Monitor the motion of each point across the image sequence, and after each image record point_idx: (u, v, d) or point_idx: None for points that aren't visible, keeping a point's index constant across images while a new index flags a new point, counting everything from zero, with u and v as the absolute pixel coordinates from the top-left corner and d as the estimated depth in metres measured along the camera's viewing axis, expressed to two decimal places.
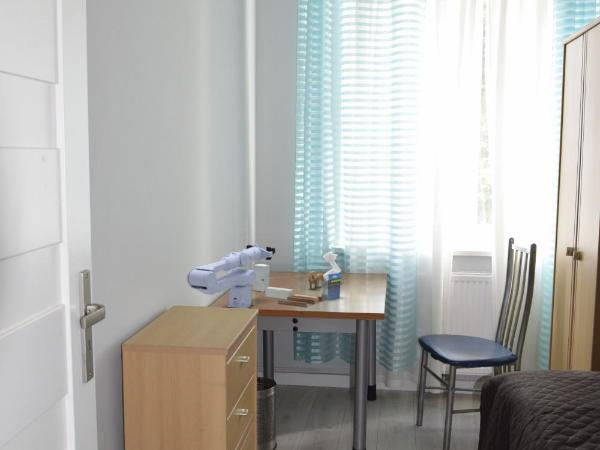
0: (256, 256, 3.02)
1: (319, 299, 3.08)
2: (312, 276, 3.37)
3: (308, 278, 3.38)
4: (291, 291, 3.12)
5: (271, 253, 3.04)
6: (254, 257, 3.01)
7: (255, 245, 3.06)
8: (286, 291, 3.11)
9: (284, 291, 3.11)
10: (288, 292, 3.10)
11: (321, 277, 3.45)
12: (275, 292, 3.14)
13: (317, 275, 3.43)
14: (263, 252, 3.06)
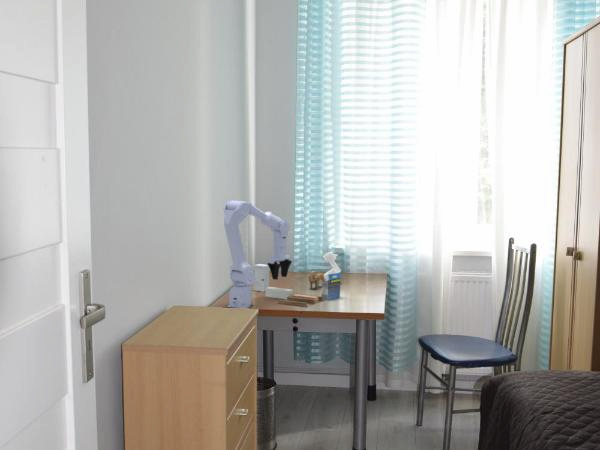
0: (275, 249, 3.10)
1: (319, 299, 3.08)
2: (313, 276, 3.37)
3: (309, 278, 3.39)
4: (291, 291, 3.12)
5: (272, 261, 3.07)
6: (283, 245, 3.10)
7: (286, 257, 3.11)
8: (286, 292, 3.11)
9: (284, 291, 3.11)
10: (288, 292, 3.10)
11: (321, 277, 3.45)
12: (274, 292, 3.14)
13: (318, 275, 3.43)
14: None
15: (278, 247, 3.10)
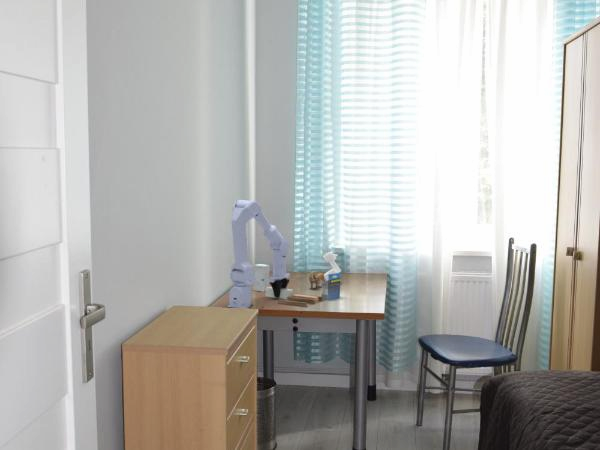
0: (275, 267, 3.11)
1: (319, 299, 3.08)
2: (313, 276, 3.37)
3: (309, 278, 3.39)
4: (291, 291, 3.12)
5: (271, 280, 3.07)
6: (283, 264, 3.11)
7: (286, 276, 3.12)
8: (286, 291, 3.11)
9: (284, 291, 3.11)
10: (288, 292, 3.10)
11: (322, 277, 3.45)
12: None
13: (318, 275, 3.44)
14: None
15: (278, 266, 3.11)
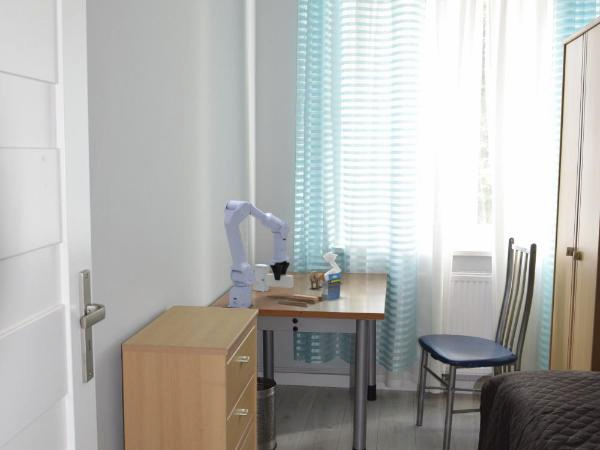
0: (276, 250, 3.10)
1: (319, 299, 3.08)
2: (314, 276, 3.38)
3: (310, 278, 3.39)
4: (291, 277, 3.11)
5: (272, 263, 3.07)
6: (283, 247, 3.10)
7: (286, 259, 3.11)
8: (286, 277, 3.10)
9: (284, 277, 3.11)
10: (288, 278, 3.10)
11: (322, 277, 3.46)
12: None
13: (318, 275, 3.44)
14: None
15: (278, 249, 3.10)
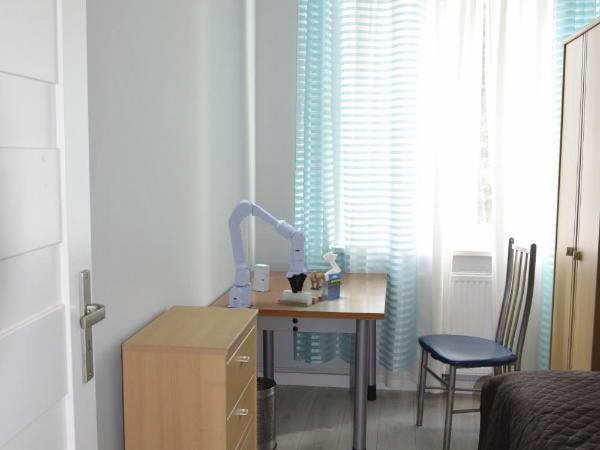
0: (293, 262, 2.98)
1: (319, 299, 3.08)
2: (314, 276, 3.38)
3: (310, 278, 3.40)
4: (310, 294, 2.99)
5: (289, 275, 2.94)
6: (296, 258, 2.97)
7: (304, 271, 2.99)
8: (305, 295, 2.98)
9: (303, 294, 2.98)
10: (307, 295, 2.97)
11: (323, 277, 3.46)
12: (292, 295, 3.01)
13: (319, 275, 3.44)
14: None
15: (295, 260, 2.97)
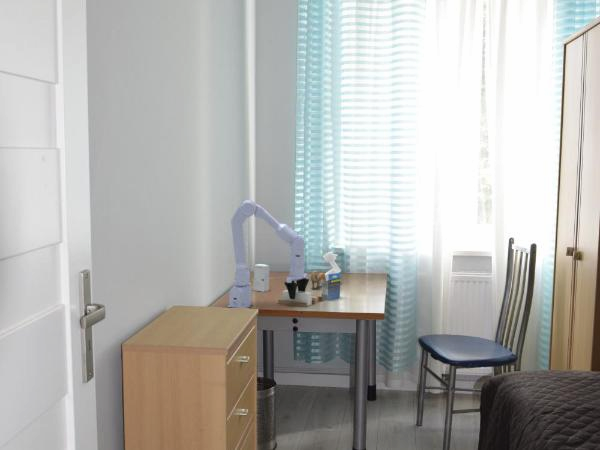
0: (293, 267, 2.98)
1: (319, 299, 3.08)
2: (315, 275, 3.38)
3: (311, 277, 3.40)
4: (309, 294, 2.98)
5: (289, 280, 2.94)
6: (296, 263, 2.97)
7: (304, 276, 2.99)
8: (304, 295, 2.97)
9: (302, 294, 2.98)
10: (306, 295, 2.97)
11: (323, 276, 3.47)
12: None
13: (319, 274, 3.45)
14: None
15: (295, 265, 2.97)
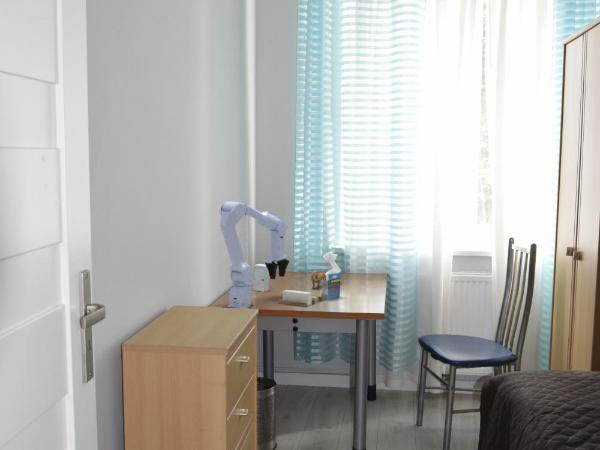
0: (273, 248, 3.09)
1: (319, 299, 3.08)
2: (315, 275, 3.39)
3: (311, 277, 3.40)
4: (309, 294, 2.98)
5: (269, 261, 3.05)
6: (280, 245, 3.08)
7: (284, 257, 3.10)
8: (304, 295, 2.97)
9: (302, 294, 2.98)
10: (306, 295, 2.97)
11: (323, 276, 3.47)
12: (292, 295, 3.00)
13: (320, 274, 3.45)
14: None
15: (276, 247, 3.08)
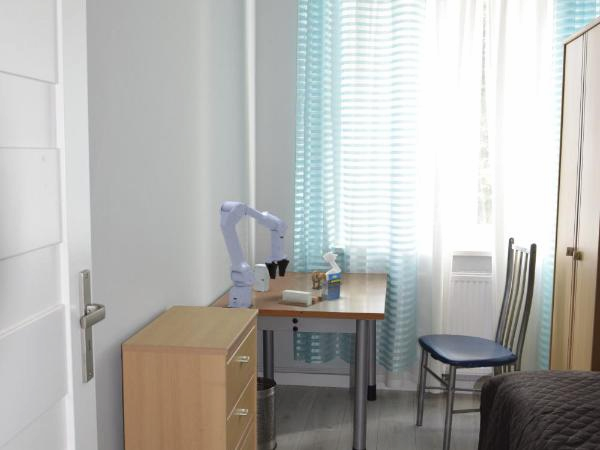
0: (273, 248, 3.09)
1: (319, 299, 3.08)
2: (316, 275, 3.39)
3: (312, 277, 3.40)
4: (309, 294, 2.98)
5: (269, 261, 3.05)
6: (280, 245, 3.08)
7: (284, 257, 3.10)
8: (304, 295, 2.97)
9: (302, 294, 2.98)
10: (306, 295, 2.97)
11: (324, 276, 3.47)
12: (292, 295, 3.00)
13: (320, 274, 3.45)
14: None
15: (276, 247, 3.08)
